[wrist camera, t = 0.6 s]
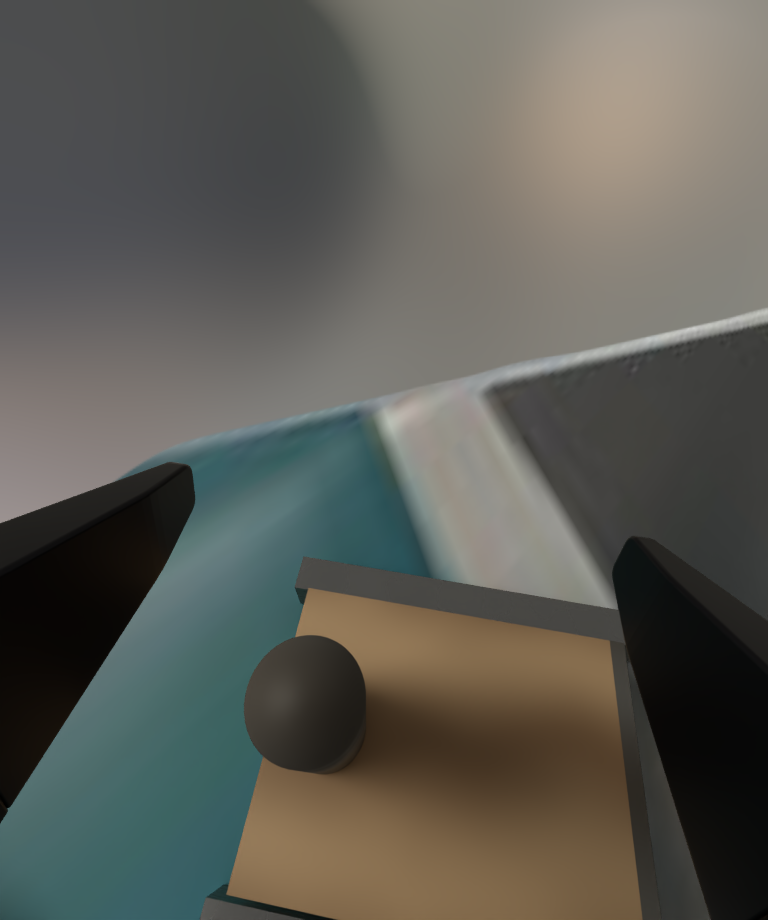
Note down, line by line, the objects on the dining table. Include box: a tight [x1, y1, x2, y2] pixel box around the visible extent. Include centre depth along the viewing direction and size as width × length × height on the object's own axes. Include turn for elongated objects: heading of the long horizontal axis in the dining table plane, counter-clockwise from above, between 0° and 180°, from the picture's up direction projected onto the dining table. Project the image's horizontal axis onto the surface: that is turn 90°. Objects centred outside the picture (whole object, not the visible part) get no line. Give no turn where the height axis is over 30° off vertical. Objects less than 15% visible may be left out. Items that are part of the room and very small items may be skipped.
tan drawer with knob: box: [226, 588, 662, 920], centre depth 15 cm, size 10×14×11 cm
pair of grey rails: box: [200, 557, 630, 920], centre depth 18 cm, size 14×30×4 cm, turn 81°
